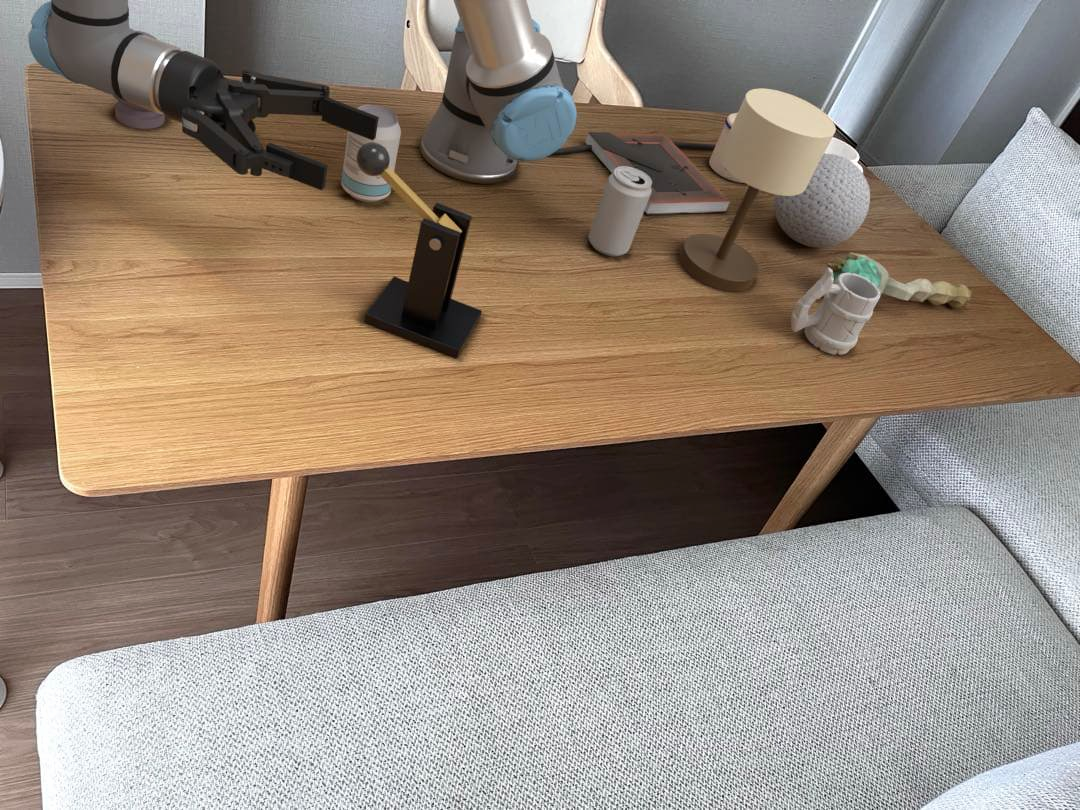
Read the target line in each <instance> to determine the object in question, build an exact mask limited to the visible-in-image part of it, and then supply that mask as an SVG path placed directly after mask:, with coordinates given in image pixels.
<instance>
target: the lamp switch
mask: <svg viewBox="0 0 1080 810" xmlns="http://www.w3.org/2000/svg"><path fill="white" fill-rule="evenodd" d="M356 160H357V165H358V167H359V168H360V170H361V171H362V172H363V173H365V174H366V175H369V176H379V175H380V176H381V177H382V178H383V179H384V180H385V181H386V182H387V183H388V184H389V185H390V186H391V189H392V190H393V191H394V192H395V193H396V194H397V195H398V196H399V197H400V198H401V199H402V200H403V201H404V202H405V203H406V204H407V205H408V206H409V207H410V209H412V211H414V212H415V213H416V214H417V216H419V217H420V218H421V219H422V220H423V219H424V218H425V219H427V220H430V221H433V222H435V223H438V224H440V225H443V226H446V227H448V228H451V229H453V230H456V231H458V232H462V230H461V229H460V228H459V227H458V226H457V225H456V224H455V223H454V222H453V221H452V220H451V219H450V218H449V217H448V216H447V215H446V214H444V215H443V216H441V217H440V218H438V217H437V216H436V215H435V214H434V213H433V212H432V211H433V210H432V209H431V208H430V207H428V204H426V203H425V202H424V201H423V200H422V199H421V198H420V197H419V196H418V194H416V193H415V191H413V190H412V189H411V188H410V187H409V185H407V184H406V182H405V181H404V180H403V179H402V178H401V177H400V176H399V174H397V173H396V172H395V170H394V171H393V170H392V169H391V168H390V167H389V163H390V158H389V154H388V152H387V150H386V149H385V148H384V147H383V146H382V145H380V144H378V143H374V142H370V143H367V144H364V145H363V146H362V147H361V148H360V149H359V151H358V153H357V157H356Z"/></svg>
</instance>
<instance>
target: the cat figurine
mask: <svg viewBox="0 0 1080 810" xmlns="http://www.w3.org/2000/svg"><path fill="white" fill-rule="evenodd" d="M136 31H137V32H139V33H141V34H144V35H147V36H149V37H152V38H154V39H157V38H156V37H155V36H154V35H152V34H150V33H148V32H146V31H141V30H136ZM113 98H114V99H115V100H116V103H115V105H114V111H115V112H114V113H115V118H116V120H118V122H119V123H121V124H123V125H124V126H127V127H129V128H134V129H139V130H140V129H141V130H150V129H151V130H152V129H155V128H158V127H161V126H162V125H164V124H165V122H166V116H165V115H164V114H158V113H156V112H153V111H149V110H147V109H146V108H144V107H141V106H139V105H136V104H134V103H131V102H128V101H125V100H123V99H120V98H119V97H116V96H113Z"/></svg>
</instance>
